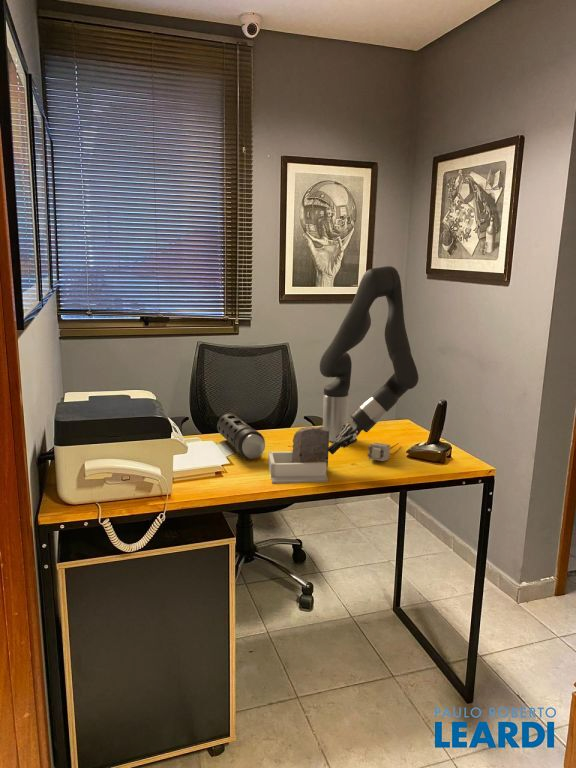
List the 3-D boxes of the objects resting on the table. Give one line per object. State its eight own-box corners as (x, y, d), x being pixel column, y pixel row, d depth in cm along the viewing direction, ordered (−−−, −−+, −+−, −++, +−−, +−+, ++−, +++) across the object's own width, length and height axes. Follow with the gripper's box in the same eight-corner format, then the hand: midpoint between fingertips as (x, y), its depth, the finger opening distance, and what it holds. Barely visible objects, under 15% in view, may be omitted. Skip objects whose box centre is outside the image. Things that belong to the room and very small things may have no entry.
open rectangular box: (268, 464, 189) (268, 451, 188) (319, 463, 191) (320, 450, 190) (272, 483, 173) (272, 469, 172) (328, 482, 175) (328, 468, 174)
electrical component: (386, 452, 214) (387, 439, 214) (402, 455, 212) (403, 441, 211) (366, 458, 192) (368, 444, 192) (383, 461, 190) (385, 446, 190)
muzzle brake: (240, 438, 218) (240, 411, 216) (267, 461, 193) (267, 431, 191) (216, 440, 214) (216, 413, 212) (240, 464, 189) (240, 434, 187)
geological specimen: (319, 465, 189) (321, 421, 186) (329, 471, 184) (331, 426, 181) (291, 470, 184) (292, 425, 181) (300, 476, 179) (301, 430, 176)
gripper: (356, 401, 188) (318, 438, 189) (365, 411, 175) (325, 450, 176) (371, 416, 190) (333, 453, 191) (382, 427, 177) (341, 466, 178)
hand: (329, 451), depth 183 cm, fingers closed
